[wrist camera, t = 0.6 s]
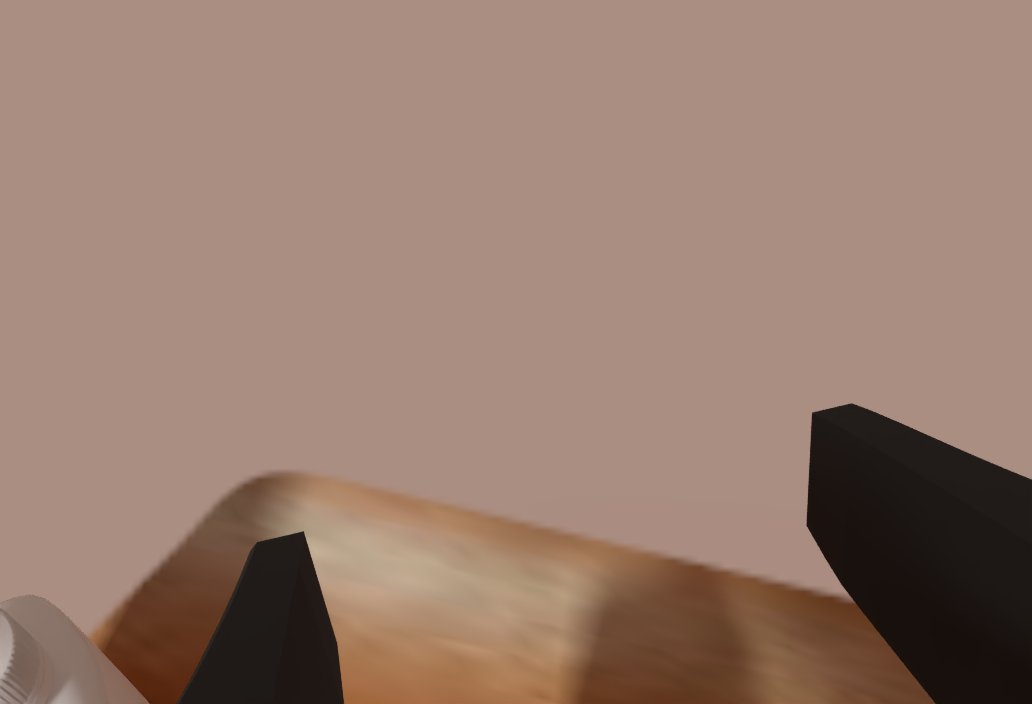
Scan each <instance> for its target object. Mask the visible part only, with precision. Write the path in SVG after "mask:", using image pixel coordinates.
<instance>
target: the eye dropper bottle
mask: <svg viewBox="0 0 1032 704" xmlns="http://www.w3.org/2000/svg"><path fill="white" fill-rule="evenodd" d="M0 704H150V703H149V702H148V701H147V700H146V699H145V698H144V696H143V695H142V694H141V693H140V692H139V691H138V690H137V689H136V688H135V687H134V686H133V685H132V684H131V682H130V681H129V680H128V679H127V678H126V677H125V676H124V675H123V674H122V673H121V672H120V671H119V670H118V669H117V668H116V666H115V665H114V664H113V663H112V662H111V661H110V660H109V659H108V658H107V657H106V656H105V655H104V654H103V653H102V652H101V651H100V650H99V648H98V647H97V646H96V645H95V644H94V643H93V642H92V641H91V640H90V639H89V638H88V637H87V636H86V635H85V634H84V633H83V632H82V631H81V630H80V629H79V628H78V627H77V626H76V625H75V624H74V623H73V622H72V621H71V620H70V619H69V618H68V617H67V616H66V615H65V614H64V613H63V612H62V611H61V610H60V609H59V608H57V607H56V606H55V605H53V604H52V603H50V602H49V601H47V600H46V599H45V598H41V597H38V596H34V595H26V596H20V597H15V598H12V599H10V600H7V601H4V602H2V603H0Z"/></svg>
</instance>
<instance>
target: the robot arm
mask: <svg viewBox="0 0 1032 704" xmlns="http://www.w3.org/2000/svg"><path fill="white" fill-rule="evenodd" d="M807 527H808V529H809V531H810V532H811V534H812V536H813V538H814V539H815V541H816V543H817V545H818V546H819V548H820V550H821V551H822V553H823V555H824V557H825V559H826V560H827V562H828V563H829V565H830V567H831V568H832V570H833V571H834V573H835V575H836V576H837V578H838V580H839V581H840V583H841V584H842V586H843V587H844V588H845V590H846V591H847V592H848V594H849V595H850V596H851V598H852V599H853V600H854V601H855V603H856V604H857V605H858V607H859V608H860V609H861V610H862V612H863V613H864V614H865V615H866V617H867V618H868V619H869V621H870V622H871V623H872V624H873V626H874V627H875V628H876V630H877V631H878V632H879V633H880V635H881V636H882V637H883V638H884V640H885V641H886V642H887V643H888V645H889V646H890V647H891V648H892V650H893V651H894V652H895V653H896V655H897V656H898V657H899V658H900V660H901V661H902V662H903V663H904V665H905V666H906V667H907V668H908V670H909V671H910V672H911V673H912V675H913V676H914V677H915V678H916V680H917V681H918V682H919V683H920V685H921V686H922V687H923V688H924V690H925V691H926V692H927V693H928V695H929V696H930V697H931V698H932V700H933V701H934V702H935V703H936V704H1032V480H1031V479H1029V478H1026V477H1024V476H1021V475H1019V474H1017V473H1014V472H1011V471H1009V470H1007V469H1004V468H1002V467H999V466H997V465H995V464H992V463H990V462H988V461H985V460H983V459H981V458H978V457H976V456H974V455H971V454H969V453H967V452H964V451H962V450H960V449H958V448H955V447H953V446H951V445H948V444H946V443H944V442H942V441H940V440H937V439H935V438H933V437H931V436H928V435H926V434H924V433H922V432H919V431H917V430H915V429H913V428H910V427H908V426H906V425H904V424H901V423H899V422H897V421H894V420H892V419H890V418H887V417H885V416H883V415H880V414H878V413H876V412H873V411H870V410H868V409H865V408H863V407H860V406H857V405H855V404H847V405H843V406H839V407H835V408H830V409H826V410H822V411H818V412H813V413H812V426H811V446H810V465H809V485H808V507H807ZM177 704H344V699H343V690H342V681H341V672H340V664H339V655H338V647H337V641H336V638H335V635H334V631H333V628H332V625H331V621H330V618H329V615H328V611H327V608H326V605H325V601H324V598H323V595H322V591H321V588H320V584H319V581H318V578H317V574H316V571H315V568H314V564H313V561H312V558H311V554H310V551H309V548H308V544H307V541H306V538H305V534H304V531H303V532H299V533H295V534H291V535H286V536H282V537H278V538H274V539H269V540H265V541H261V542H257V543H256V544H255V546H254V547H253V548H252V550H251V551H250V553H249V556H248V559H247V561H246V564H245V566H244V568H243V571H242V573H241V576H240V578H239V580H238V583H237V585H236V587H235V590H234V592H233V594H232V596H231V599H230V601H229V603H228V605H227V607H226V609H225V612H224V614H223V616H222V618H221V620H220V622H219V624H218V626H217V628H216V630H215V632H214V634H213V636H212V638H211V640H210V642H209V644H208V646H207V648H206V650H205V652H204V654H203V656H202V658H201V660H200V662H199V664H198V666H197V668H196V670H195V672H194V674H193V676H192V677H191V679H190V681H189V683H188V685H187V686H186V688H185V690H184V692H183V693H182V695H181V697H180V698H179V700H178V702H177Z"/></svg>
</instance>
